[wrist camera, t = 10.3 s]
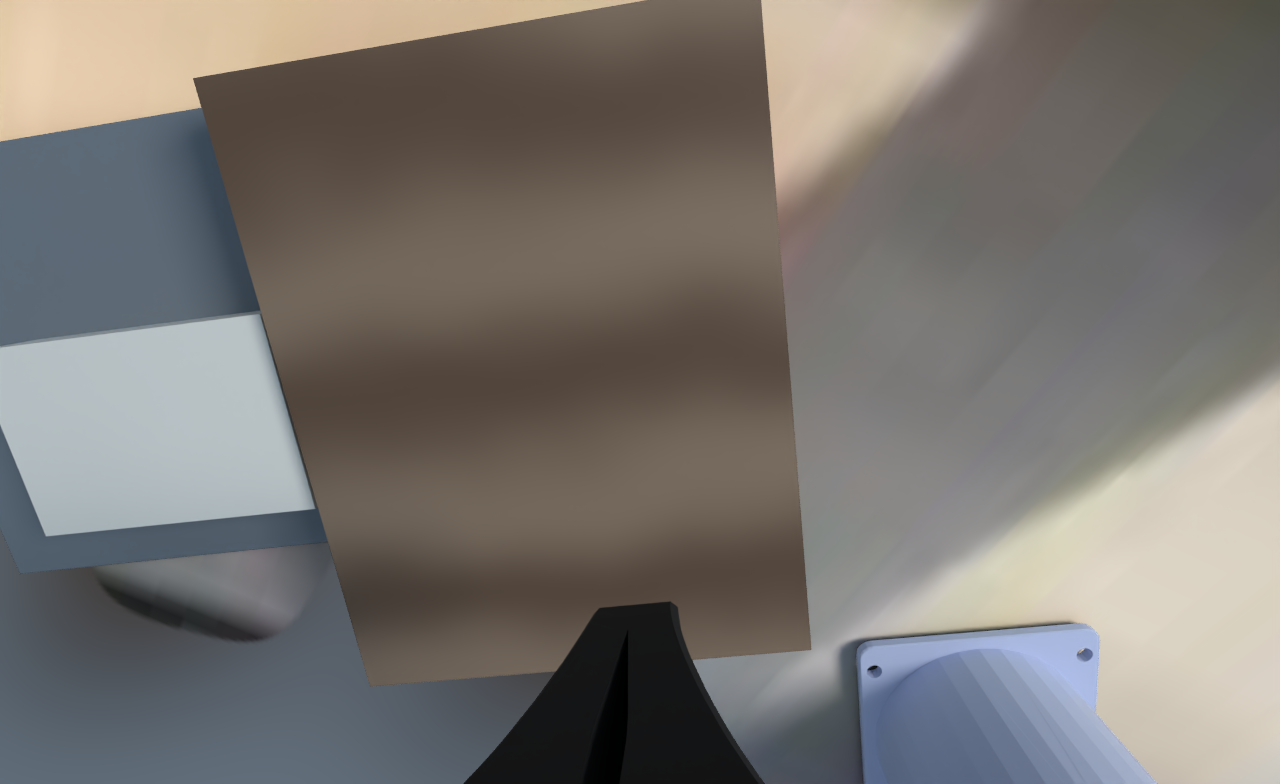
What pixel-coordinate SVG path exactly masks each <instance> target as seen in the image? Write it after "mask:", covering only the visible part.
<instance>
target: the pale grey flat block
mask: <svg viewBox="0 0 1280 784" xmlns="http://www.w3.org/2000/svg"><path fill="white" fill-rule="evenodd" d="M0 426H1V428H2V430H3V433H4V435H5V438H6V440H7V443H8V445H9V447H10V450H11V452H12V455H13V457H14V460H15V462H16V465H17V467H18V469H19V472H20V474H21V477H22V479H23V482H24V484H25V487H26V489H27V491H28V494H29V496H30V499H31V501H32V504H33V506H34V508H35V511H36V513H37V516H38V518H39V521H40V523H41V526H42V528H43V530H44V533H45V535H46V536H55V535H65V534H74V533H84V532H94V531H104V530H113V529H123V528H133V527H143V526H153V525H162V524H172V523H182V522H192V521H202V520H211V519H221V518H231V517H241V516H251V515H260V514H270V513H280V512H290V511H300V510H309V509H316V508H317V507H318V506H317V502H316V499H315V495H314V492H313V488H312V485H311V482H310V478H309V475H308V471H307V468H306V464H305V461H304V458H303V454H302V451H301V447H300V444H299V440H298V437H297V433H296V430H295V427H294V423H293V420H292V416H291V413H290V409H289V406H288V403H287V399H286V396H285V392H284V389H283V385H282V382H281V379H280V375H279V372H278V368H277V365H276V361H275V358H274V354H273V351H272V348H271V344H270V341H269V337H268V334H267V330H266V327H265V324H264V320H263V317H262V313H261V311H253V312H245V313H238V314H230V315H222V316H215V317H207V318H199V319H191V320H184V321H176V322H168V323H161V324H153V325H145V326H138V327H130V328H122V329H115V330H107V331H99V332H92V333H84V334H76V335H69V336H61V337H53V338H46V339H38V340H32V341H27V342H21V343H15V344H10V345H4V346H0Z"/></svg>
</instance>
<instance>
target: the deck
mask: <svg viewBox="0 0 1280 784" xmlns="http://www.w3.org/2000/svg"><path fill="white" fill-rule="evenodd" d="M193 80H194V83H195V87H196V90H197V93H198V97H199V100H200V104H201V107H202V111H203V114H204V117H205V121H206V124H207V128H208V131H209V135H210V138H211V142H212V145H213V148H214V152H215V155H216V159H217V162H218V166H219V169H220V172H221V176H222V179H223V183H224V186H225V190H226V193H227V196H228V200H229V203H230V207H231V210H232V214H233V217H234V221H235V224H236V227H237V231H238V234H239V238H240V241H241V245H242V248H243V251H244V255H245V258H246V262H247V265H248V269H249V272H250V275H251V279H252V282H253V286H254V289H255V293H256V296H257V300H258V303H259V306H260V310H261V313H262V317H263V320H264V324H265V327H266V330H267V334H268V337H269V341H270V344H271V348H272V351H273V354H274V358H275V361H276V365H277V368H278V372H279V375H280V379H281V382H282V385H283V389H284V392H285V396H286V399H287V403H288V406H289V409H290V413H291V416H292V420H293V423H294V427H295V430H296V433H297V437H298V440H299V444H300V447H301V451H302V454H303V458H304V461H305V464H306V468H307V471H308V475H309V478H310V482H311V485H312V488H313V492H314V495H315V499H316V502H317V506H318V509H319V513H320V516H321V519H322V523H323V526H324V530H325V533H326V537H327V540H328V543H329V547H330V550H331V554H332V557H333V561H334V564H335V567H336V571H337V574H338V578H339V581H340V585H341V588H342V592H343V595H344V598H345V602H346V605H347V608H348V612H349V616H350V619H351V622H352V625H353V629H354V632H355V636H356V640H357V643H358V646H359V650H360V653H361V657H362V660H363V663H364V667H365V671H366V674H367V677H368V681H369V684H370V686H383V685H395V684H407V683H419V682H431V681H442V680H455V679H467V678H478V677H490V676H503V675H515V674H527V673H539V672H550V671H557V669H558V668H559V666H560V665H561V664H562V662H563V661H564V659H565V658H566V656H567V655H568V653H569V652H570V650H571V649H572V647H573V646H574V644H575V643H576V641H577V640H578V638H579V637H580V635H581V633H582V632H583V630H584V629H585V627H586V626H587V624H588V623H589V621H590V619H591V618H592V616H593V615H594V613H595V612H596V611H597V610H598V609H599V608H603V607H614V606H625V605H636V604H647V603H658V602H669V601H671V602H672V603H673V604H675V605H676V606H677V607H678V611H679V618H680V626H681V631H682V634H683V637H684V640H685V643H686V646H687V649H688V651H689V654H690V656H691V659H692V660H695V659H707V658H719V657H731V656H743V655H755V654H767V653H779V652H791V651H804V650H811V640H810V627H809V614H808V601H807V588H806V575H805V562H804V549H803V536H802V523H801V510H800V498H799V485H798V472H797V459H796V446H795V433H794V420H793V407H792V394H791V381H790V369H789V356H788V343H787V330H786V317H785V304H784V291H783V278H782V265H781V252H780V239H779V227H778V214H777V201H776V188H775V175H774V162H773V149H772V136H771V123H770V110H769V97H768V85H767V72H766V59H765V46H764V33H763V20H762V7H761V0H646V1H640V2H634V3H629V4H623V5H617V6H611V7H605V8H599V9H594V10H588V11H582V12H576V13H570V14H565V15H559V16H553V17H547V18H541V19H536V20H530V21H524V22H518V23H512V24H506V25H501V26H495V27H489V28H483V29H477V30H472V31H466V32H460V33H454V34H448V35H442V36H437V37H431V38H425V39H419V40H413V41H408V42H402V43H396V44H390V45H384V46H379V47H373V48H367V49H361V50H355V51H349V52H344V53H338V54H332V55H326V56H320V57H315V58H309V59H303V60H297V61H291V62H286V63H280V64H274V65H268V66H262V67H256V68H251V69H245V70H239V71H233V72H227V73H222V74H216V75H210V76H204V77H198V78H193Z"/></svg>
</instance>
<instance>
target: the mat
mask: <svg viewBox="0 0 1280 784" xmlns="http://www.w3.org/2000/svg"><path fill="white" fill-rule="evenodd" d="M253 311H261V310H260V306H259V303H258V300H257V296H256V293H255V289H254V286H253V282H252V279H251V275H250V272H249V269H248V265H247V262H246V258H245V255H244V251H243V248H242V245H241V241H240V238H239V234H238V231H237V227H236V224H235V221H234V217H233V214H232V210H231V207H230V203H229V200H228V196H227V193H226V190H225V186H224V183H223V179H222V176H221V172H220V169H219V166H218V162H217V159H216V155H215V152H214V148H213V145H212V142H211V138H210V135H209V131H208V128H207V124H206V121H205V117H204V114H203V111H202V108H198V109H192V110H186V111H180V112H174V113H169V114H163V115H157V116H151V117H145V118H139V119H133V120H127V121H121V122H115V123H109V124H103V125H97V126H91V127H85V128H79V129H73V130H67V131H61V132H55V133H49V134H43V135H37V136H31V137H25V138H19V139H13V140H7V141H1V142H0V346H4V345H10V344H15V343H21V342H27V341H32V340H38V339H46V338H53V337H61V336H69V335H76V334H84V333H92V332H99V331H107V330H115V329H122V328H130V327H138V326H145V325H153V324H161V323H168V322H176V321H184V320H191V319H199V318H207V317H215V316H222V315H230V314H238V313H245V312H253ZM0 529H1V532H2V534H3V536H4V538H5V541H6V543H7V545H8V548H9V550H10V552H11V554H12V557H13V559H14V561H15V563H16V566H17V568H18V570H19V573H20V574H23V573H33V572H42V571H52V570H61V569H71V568H80V567H90V566H100V565H110V564H119V563H129V562H138V561H148V560H158V559H167V558H177V557H187V556H196V555H206V554H215V553H225V552H235V551H244V550H254V549H263V548H273V547H283V546H292V545H302V544H312V543H321V542H328V540H327V537H326V533H325V530H324V526H323V523H322V519H321V516H320V513H319V509H318V507H317V508H316V509H309V510H300V511H290V512H280V513H270V514H260V515H251V516H241V517H231V518H221V519H211V520H202V521H192V522H182V523H172V524H162V525H153V526H143V527H133V528H123V529H113V530H104V531H94V532H84V533H74V534H65V535H55V536H46V535H45V533H44V530H43V528H42V526H41V523H40V521H39V518H38V516H37V513H36V511H35V508H34V506H33V504H32V501H31V499H30V496H29V494H28V491H27V489H26V487H25V484H24V482H23V479H22V477H21V474H20V472H19V469H18V467H17V465H16V462H15V460H14V457H13V455H12V452H11V450H10V447H9V445H8V443H7V440H6V438H5V435H4V433H3V430H2V428H1V426H0Z"/></svg>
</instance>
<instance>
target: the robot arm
mask: <svg viewBox="0 0 1280 784" xmlns="http://www.w3.org/2000/svg"><path fill="white" fill-rule="evenodd" d="M1084 648H1085V649H1084ZM1081 649H1084V651H1083V652H1081V653H1079V654H1077V653H1078V652H1079V651H1080V650H1081ZM1099 649H1100V638H1099V635H1098V633H1097V632H1096V631H1095V630H1094V629H1093V628H1092V627H1091V626H1089V625H1087V624H1083V623H1076V624H1064V625H1052V626H1040V627H1028V628H1016V629H1004V630H993V631H981V632H969V633H957V634H945V635H933V636H921V637H909V638H897V639H885V640H873V641H867V642H864V643H863V644H861V645H860V646H859V647H858V649H857V653H856V657H857V675H858V693H859V711H860V729H861V746H862V764H863V782H864V784H1158V783H1157V782H1156V781H1155V780H1154V779H1153V778H1152V777H1151V775H1150V774H1149V773H1148V772H1147V771H1146V770H1145V769H1144V767H1143V766H1142V765H1141V764H1140V763H1139V762H1138V761H1137V759H1136V758H1135V757H1134V756H1133V755H1132V754H1131V753H1130V751H1129V750H1128V749H1127V748H1126V747H1125V746H1124V745H1123V743H1122V742H1121V741H1120V740H1119V739H1118V738H1117V736H1116V735H1115V734H1114V733H1113V732H1112V731H1111V730H1110V728H1109V727H1108V726H1107V725H1106V724H1105V723H1104V722H1103V720H1102V719H1101V718H1100V717H1099V716H1098V715H1097V714H1096V700H1097V683H1098V666H1099ZM873 665H876V666H878V667H877V668H876V669H874V670H867V669H868V668H869V667H870V666H873ZM464 784H765V783H764V782H763V781H762V779H761V778H760V777H759V775H758V774H757V772H756V771H755V769H754V768H753V766H752V765H751V764H750V762H749V761H748V759H747V758H746V756H745V755H744V753H743V752H742V750H741V749H740V747H739V746H738V744H737V743H736V741H735V740H734V738H733V736H732V735H731V733H730V731H729V730H728V728H727V727H726V725H725V723H724V721H723V720H722V718H721V716H720V714H719V713H718V711H717V709H716V707H715V706H714V704H713V702H712V700H711V698H710V696H709V694H708V692H707V691H706V689H705V687H704V684H703V682H702V680H701V678H700V676H699V674H698V672H697V670H696V668H695V665H694V663H693V661H692V659H691V656H690V654H689V651H688V649H687V646H686V643H685V640H684V637H683V634H682V631H681V626H680V618H679V611H678V607H677V606H676V605H675V604H673V603H672V602H671V601H669V602H658V603H647V604H636V605H625V606H614V607H603V608H599V609H598V610H597V611H596V612H595V613H594V615H593V616H592V618H591V619H590V621H589V623H588V624H587V626H586V627H585V629H584V630H583V632H582V633H581V635H580V637H579V638H578V640H577V641H576V643H575V644H574V646H573V647H572V649H571V650H570V652H569V653H568V655H567V656H566V658H565V659H564V661H563V662H562V664H561V665H560V666H559V668H558V669H557V671H556V672H555V673H554V675H553V676H552V678H551V679H550V680H549V682H548V683H547V685H546V686H545V687H544V689H543V690H542V692H541V693H540V694H539V696H538V697H537V698H536V700H535V701H534V702H533V703H532V705H531V706H530V707H529V708H528V710H527V711H526V712H525V713H524V715H523V716H522V717H521V718H520V720H519V721H518V722H517V724H516V725H515V726H514V727H513V729H512V730H511V731H510V732H509V734H508V735H507V736H506V737H505V738H504V739H503V741H502V742H501V743H500V744H499V745H498V746H497V748H496V749H495V750H494V751H493V752H492V754H490V756H489V757H488V758H487V759H486V760H485V761H484V762H483V763H482V764H481V766H480V767H479V768H478V769H477V770H476V771H475V772H474V773H473V774H472V775H471V776H470V777H469V778H468V779H467V780H466V782H464Z"/></svg>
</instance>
